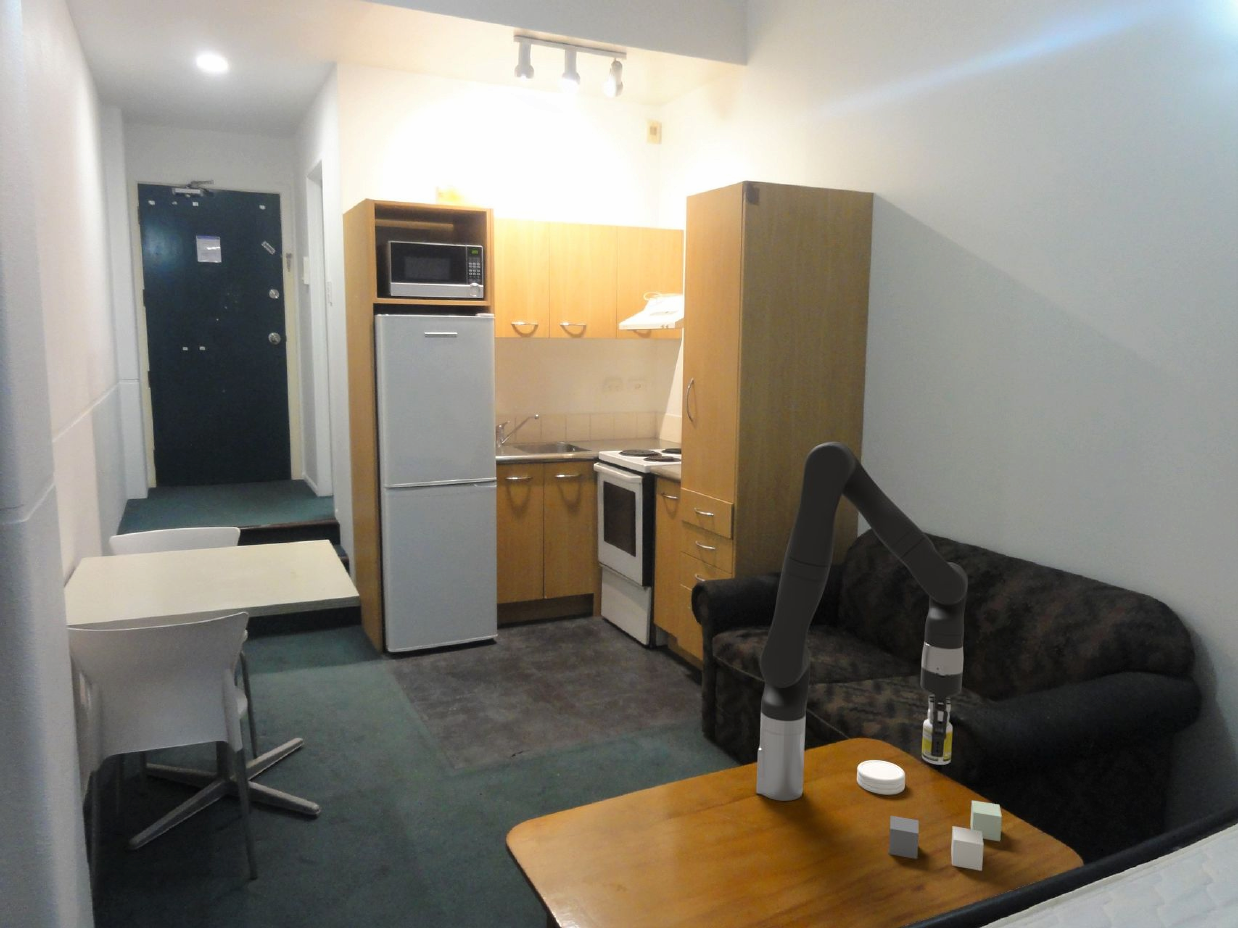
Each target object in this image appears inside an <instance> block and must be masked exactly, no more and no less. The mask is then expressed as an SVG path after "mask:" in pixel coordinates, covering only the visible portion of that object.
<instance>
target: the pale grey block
mask: <svg viewBox="0 0 1238 928" xmlns="http://www.w3.org/2000/svg"><path fill="white" fill-rule="evenodd" d="M951 830H952V832H951V833H952V834H951V847H950V853H951V865H952V866H954V867H959V868H965V869H969V870H970V869H971V870H976V871H983V858H984V840H983V837H982V831H978V830H972V829H971V828H965V827H960V826H953V825H952V829H951Z"/></svg>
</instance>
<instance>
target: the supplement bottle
mask: <svg viewBox="0 0 1238 928" xmlns="http://www.w3.org/2000/svg"><path fill="white" fill-rule="evenodd" d="M950 715H951V714H950V712H949V716H950ZM929 721H930V709H929V708H928V710H927V719H925V720H924V721H923V724H922V725H923V726H922V739H921V740H922V743H921V757H922V759H923V760H924V761H926V762H927V763H930V764H933V765H943V766H944V765H947V764H949V763H951V760H952V745H953V744H952V742H953V725H952V724H951V722H949V725H948V726H947V727H946V739H945V740H944V750H943V757H935V756H932V755H931V744H932V736H931V733H932V725H931V724H930V722H929ZM935 731H936V732H943V729H939V728H936V729H935Z"/></svg>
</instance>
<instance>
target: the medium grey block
mask: <svg viewBox="0 0 1238 928" xmlns="http://www.w3.org/2000/svg"><path fill="white" fill-rule="evenodd" d="M919 822H920V821H919V820H918V819H913V818H906V817H900V816H894V815H890V821H889V823H890V824H889V838H888V839H889V841H888V843H889V844H888V854H889V855H894V856H899V857H905V858H909V859H910V858H911V859H915V860H918V853H919V851H918V850H919V849H918V847H919V833H920V832H919V829H920V828H919Z"/></svg>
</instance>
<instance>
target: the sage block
mask: <svg viewBox="0 0 1238 928" xmlns="http://www.w3.org/2000/svg"><path fill="white" fill-rule="evenodd" d="M1002 817H1003V815H1002V811H1001V806H1000V804H997V803H996V804H995V803H990V802H985V801H979V800H971V807H970V822H969V823H970V824H969V826H970V829H972V830H978V831H982V837H983V839H985V840H990V841H996V842H1001V836H1002V835H1001V834H1002V833H1001V832H1002V820H1003V818H1002Z"/></svg>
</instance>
